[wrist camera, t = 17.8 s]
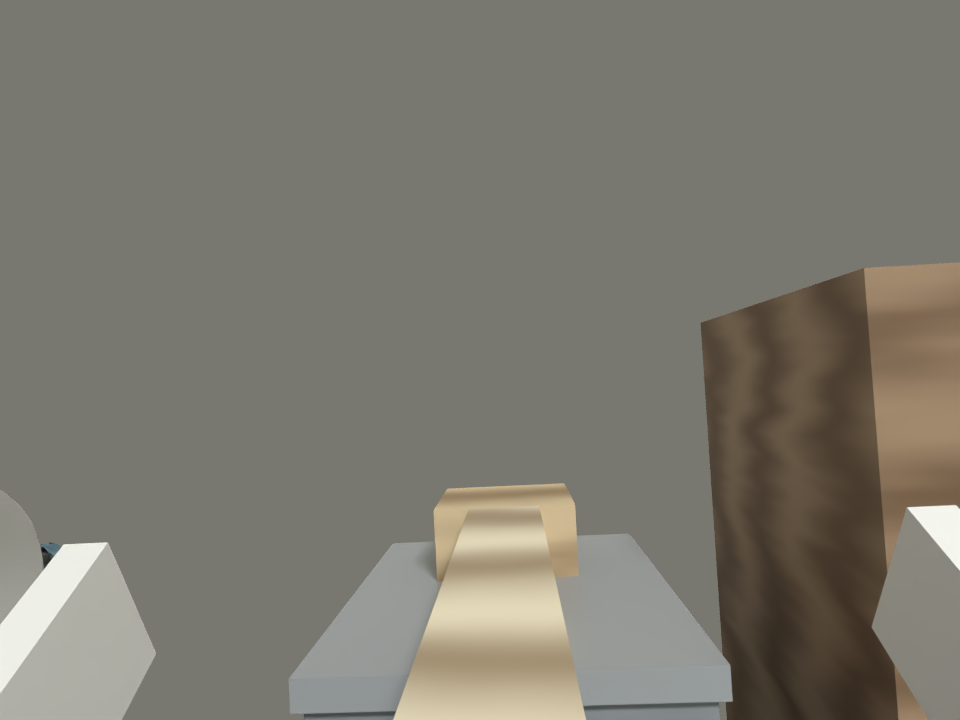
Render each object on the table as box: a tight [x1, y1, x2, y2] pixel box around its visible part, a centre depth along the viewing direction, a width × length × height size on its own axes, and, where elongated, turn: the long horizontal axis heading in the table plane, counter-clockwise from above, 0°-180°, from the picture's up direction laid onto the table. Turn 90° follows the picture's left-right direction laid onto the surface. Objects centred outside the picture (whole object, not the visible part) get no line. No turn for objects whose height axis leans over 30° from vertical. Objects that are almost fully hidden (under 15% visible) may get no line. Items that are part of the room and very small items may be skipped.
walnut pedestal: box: [701, 262, 960, 720], centre depth 27 cm, size 17×10×30 cm, turn 177°
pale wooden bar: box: [393, 484, 586, 720], centre depth 22 cm, size 25×6×3 cm, turn 177°
